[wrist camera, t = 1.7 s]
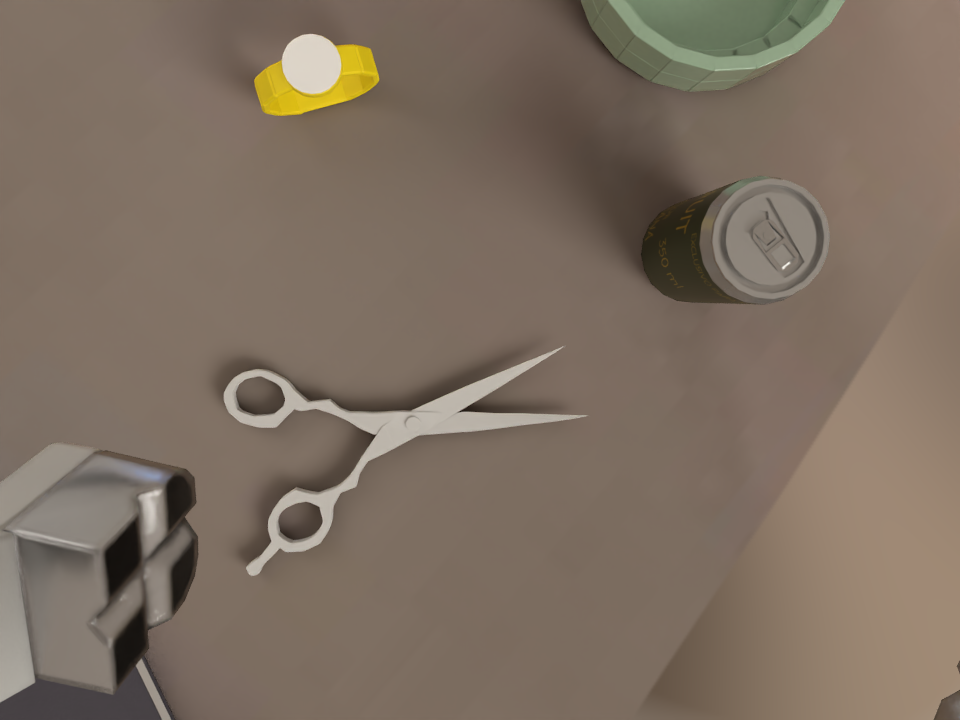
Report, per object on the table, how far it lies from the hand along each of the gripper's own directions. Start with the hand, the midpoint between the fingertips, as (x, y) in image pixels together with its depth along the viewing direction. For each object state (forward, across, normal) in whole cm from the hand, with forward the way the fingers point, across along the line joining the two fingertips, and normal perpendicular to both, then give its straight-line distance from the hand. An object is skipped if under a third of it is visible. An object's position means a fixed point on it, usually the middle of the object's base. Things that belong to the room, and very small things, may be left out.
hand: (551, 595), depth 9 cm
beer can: (+40, -4, +8) cm, 41 cm away
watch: (+38, +17, +2) cm, 42 cm away
